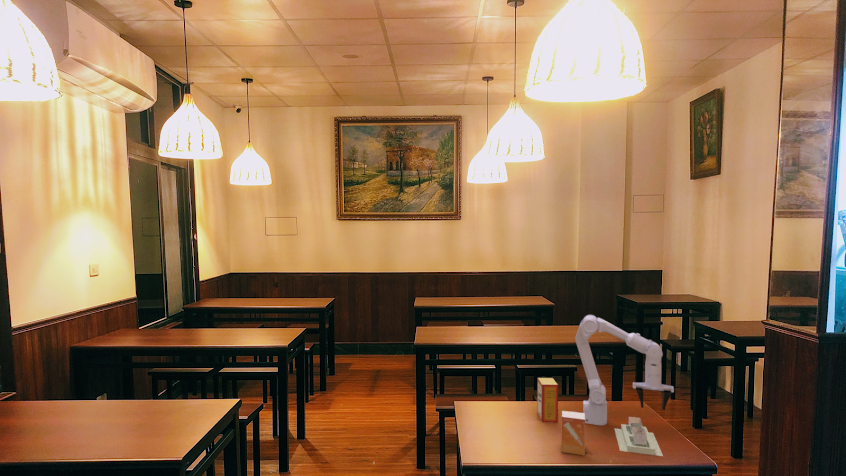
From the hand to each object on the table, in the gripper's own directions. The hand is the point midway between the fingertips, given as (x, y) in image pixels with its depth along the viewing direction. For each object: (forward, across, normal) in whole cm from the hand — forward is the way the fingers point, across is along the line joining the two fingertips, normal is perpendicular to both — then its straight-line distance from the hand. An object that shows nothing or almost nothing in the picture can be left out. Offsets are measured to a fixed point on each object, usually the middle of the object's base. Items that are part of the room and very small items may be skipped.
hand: (652, 408), depth 186 cm
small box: (+10, -30, -27) cm, 41 cm away
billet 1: (+9, -7, -8) cm, 14 cm away
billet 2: (+8, -7, -18) cm, 21 cm away
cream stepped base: (+9, -7, -13) cm, 18 cm away
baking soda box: (+10, -40, +1) cm, 41 cm away
